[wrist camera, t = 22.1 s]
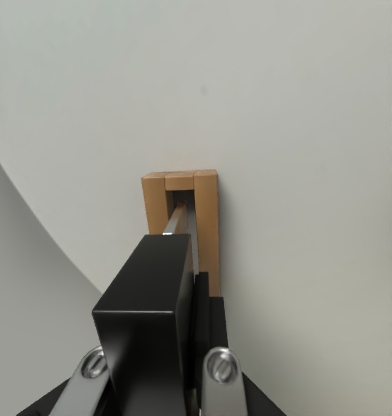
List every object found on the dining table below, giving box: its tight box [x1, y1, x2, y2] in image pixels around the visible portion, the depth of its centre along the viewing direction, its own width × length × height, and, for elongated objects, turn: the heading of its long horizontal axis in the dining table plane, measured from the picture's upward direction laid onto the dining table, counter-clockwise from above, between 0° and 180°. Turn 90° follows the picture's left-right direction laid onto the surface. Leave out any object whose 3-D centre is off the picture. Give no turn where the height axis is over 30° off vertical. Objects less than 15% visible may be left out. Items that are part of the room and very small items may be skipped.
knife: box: [92, 201, 200, 416], centre depth 10 cm, size 2×9×9 cm, turn 3°
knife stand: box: [141, 170, 220, 297], centre depth 16 cm, size 5×12×2 cm, turn 3°
